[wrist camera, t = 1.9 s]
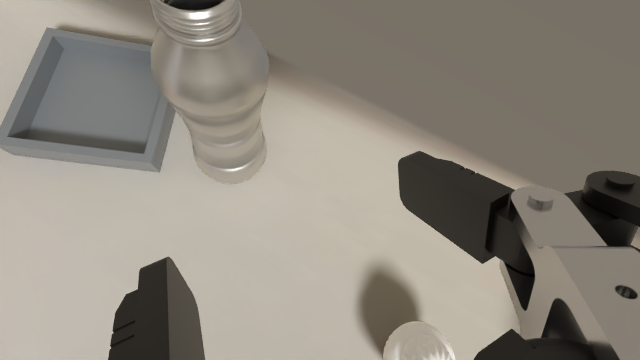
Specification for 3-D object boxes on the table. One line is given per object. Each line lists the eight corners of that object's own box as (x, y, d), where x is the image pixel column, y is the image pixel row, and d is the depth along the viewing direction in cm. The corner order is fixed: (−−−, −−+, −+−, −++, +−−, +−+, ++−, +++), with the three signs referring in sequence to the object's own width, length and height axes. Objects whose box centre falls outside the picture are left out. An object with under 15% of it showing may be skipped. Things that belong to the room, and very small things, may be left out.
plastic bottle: (195, 135, 32) (97, -78, 13) (261, 127, 33) (259, -73, 14) (202, 195, 30) (101, 48, 11) (272, 183, 31) (285, 38, 13)
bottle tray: (14, 155, 28) (-8, 144, 26) (61, 45, 32) (46, 27, 30) (159, 172, 30) (151, 163, 27) (187, 66, 34) (181, 50, 32)
